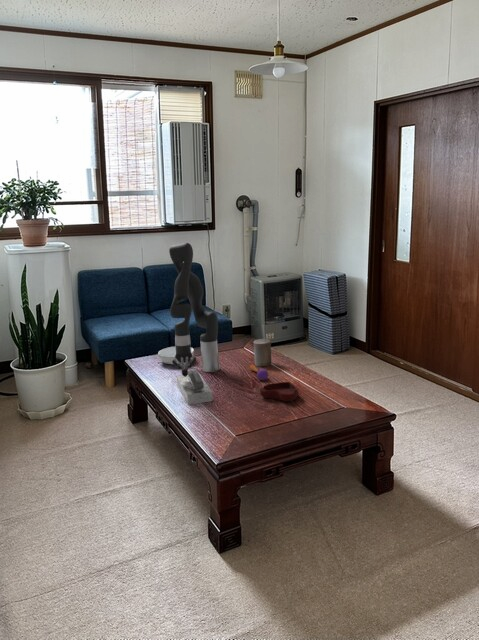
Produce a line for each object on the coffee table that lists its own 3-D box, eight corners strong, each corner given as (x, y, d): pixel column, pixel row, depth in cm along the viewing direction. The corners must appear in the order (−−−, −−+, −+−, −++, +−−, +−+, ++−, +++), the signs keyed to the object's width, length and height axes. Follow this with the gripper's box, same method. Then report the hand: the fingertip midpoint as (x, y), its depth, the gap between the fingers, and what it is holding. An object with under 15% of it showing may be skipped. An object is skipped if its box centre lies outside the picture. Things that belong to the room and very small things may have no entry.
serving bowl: (184, 354, 342) (184, 343, 340) (200, 362, 324) (200, 351, 323) (153, 361, 331) (152, 350, 330) (168, 370, 314) (167, 358, 312)
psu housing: (199, 382, 293) (198, 369, 291) (212, 400, 267) (211, 387, 265) (177, 385, 290) (176, 373, 288) (188, 404, 264) (187, 391, 262)
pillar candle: (274, 362, 318) (273, 337, 315) (266, 367, 310) (265, 341, 307) (260, 360, 323) (258, 335, 320) (251, 365, 315) (250, 340, 312)
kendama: (258, 362, 308) (270, 370, 289) (256, 372, 309) (269, 381, 290) (247, 361, 307) (259, 370, 288) (246, 372, 307) (258, 381, 288)
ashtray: (305, 393, 271) (305, 384, 270) (291, 405, 257) (291, 395, 256) (273, 388, 280) (272, 378, 279) (257, 399, 266) (257, 389, 265)
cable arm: (197, 373, 285) (196, 367, 284) (204, 388, 263) (204, 382, 263) (187, 374, 284) (187, 368, 283) (194, 390, 262) (193, 383, 262)
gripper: (194, 339, 282) (196, 372, 286) (168, 342, 278) (170, 375, 282) (197, 343, 275) (199, 376, 279) (170, 346, 271) (173, 380, 275)
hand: (184, 376), depth 280 cm, fingers closed
